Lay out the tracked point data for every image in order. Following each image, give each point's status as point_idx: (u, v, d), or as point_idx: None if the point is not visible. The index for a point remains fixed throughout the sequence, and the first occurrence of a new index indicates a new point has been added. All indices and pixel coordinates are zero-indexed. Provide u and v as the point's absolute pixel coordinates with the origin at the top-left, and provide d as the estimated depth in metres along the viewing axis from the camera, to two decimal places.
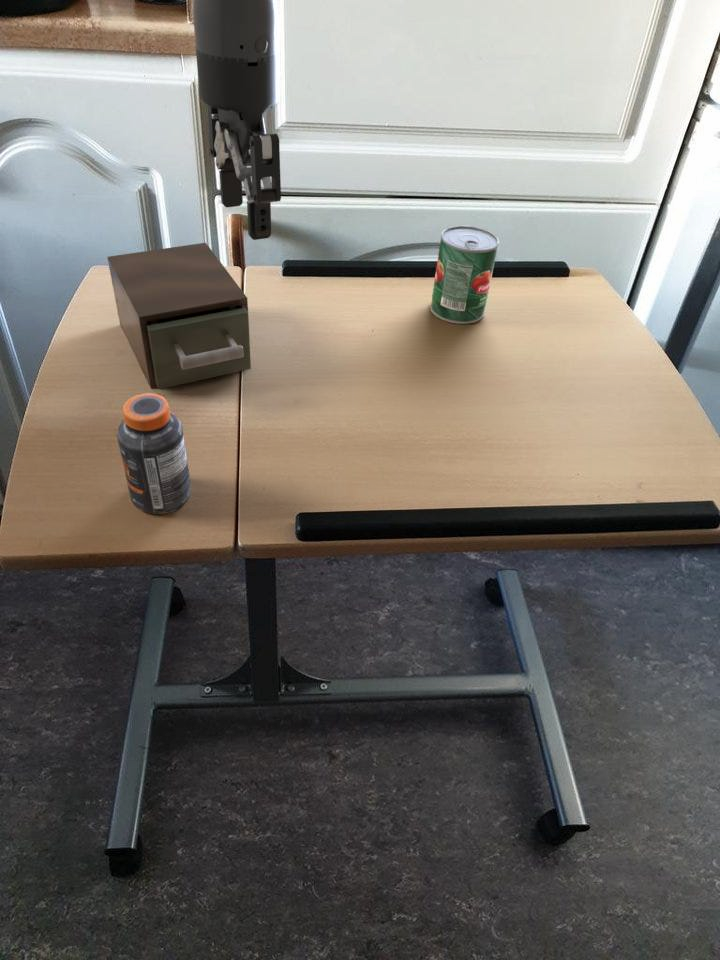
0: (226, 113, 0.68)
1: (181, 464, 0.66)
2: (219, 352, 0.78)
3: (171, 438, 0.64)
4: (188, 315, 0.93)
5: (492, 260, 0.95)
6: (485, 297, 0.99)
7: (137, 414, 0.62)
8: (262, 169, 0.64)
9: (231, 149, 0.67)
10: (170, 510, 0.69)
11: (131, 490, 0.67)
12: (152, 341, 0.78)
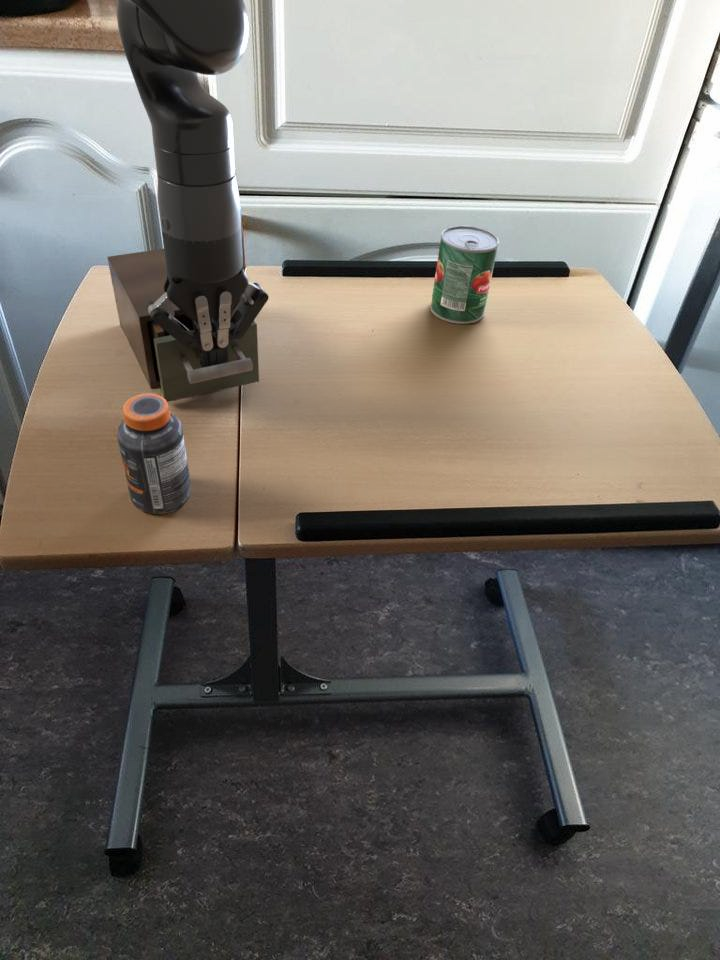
0: None
1: (181, 464, 0.66)
2: (227, 365, 0.76)
3: (171, 438, 0.64)
4: None
5: (492, 260, 0.95)
6: (485, 297, 0.99)
7: (137, 414, 0.62)
8: None
9: None
10: (170, 510, 0.69)
11: (131, 490, 0.67)
12: (159, 354, 0.76)
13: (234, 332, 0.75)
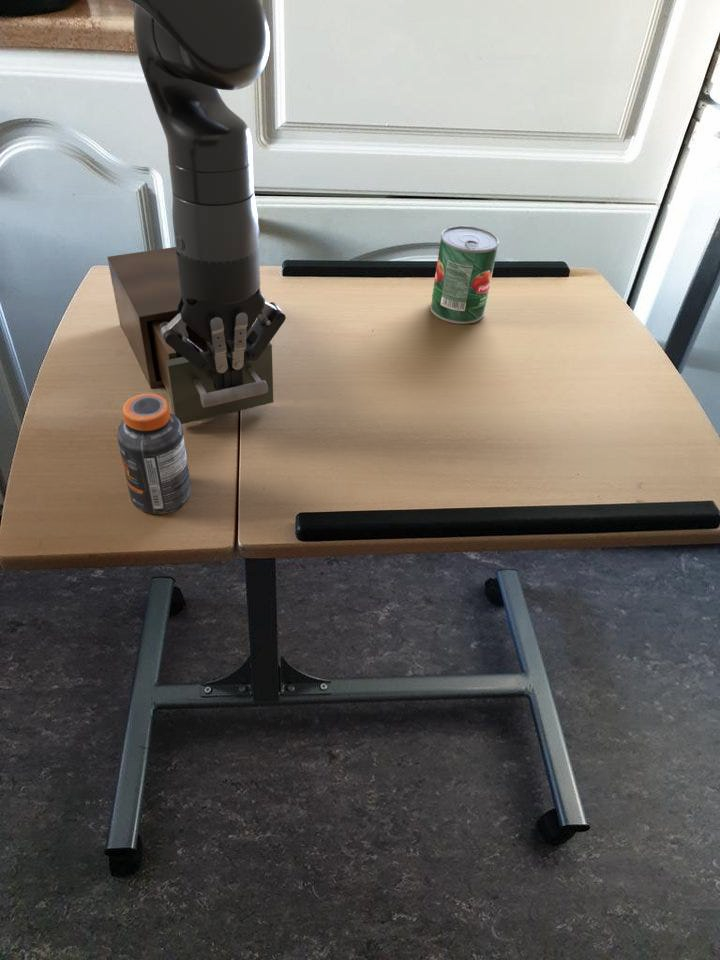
0: None
1: (181, 464, 0.66)
2: (242, 388, 0.73)
3: (171, 438, 0.64)
4: None
5: (492, 260, 0.95)
6: (485, 297, 0.99)
7: (137, 414, 0.62)
8: None
9: None
10: (170, 510, 0.69)
11: (131, 490, 0.67)
12: (171, 377, 0.73)
13: (250, 353, 0.72)
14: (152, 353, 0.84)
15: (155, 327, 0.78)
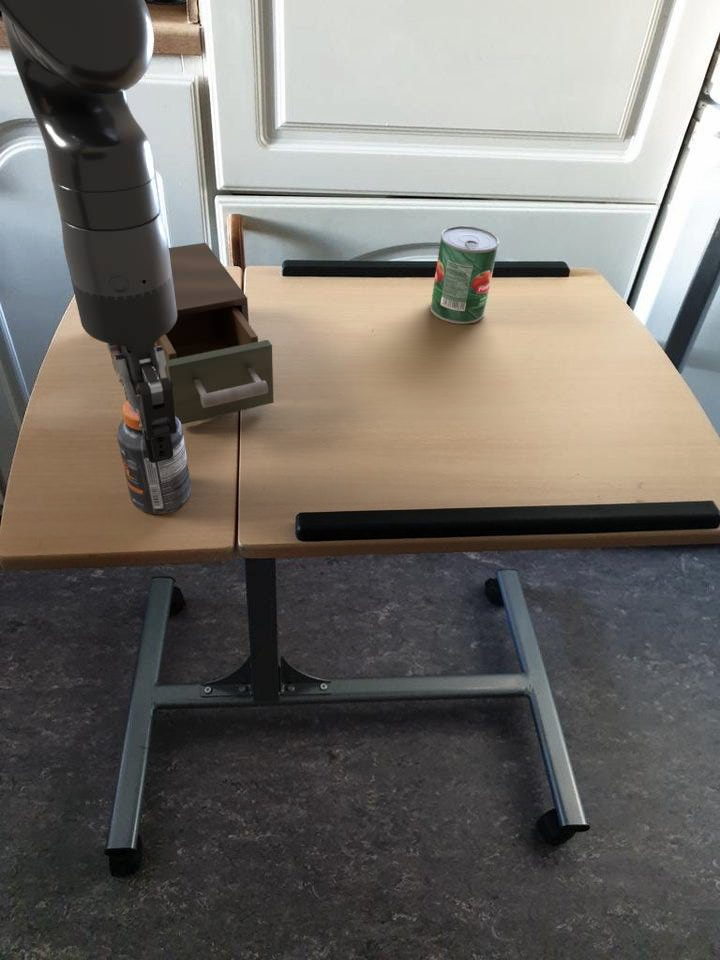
0: None
1: (181, 463, 0.66)
2: (242, 389, 0.73)
3: (171, 438, 0.64)
4: (206, 344, 0.88)
5: (492, 260, 0.95)
6: (485, 297, 0.99)
7: (137, 414, 0.62)
8: None
9: None
10: (170, 510, 0.69)
11: (131, 490, 0.67)
12: (171, 377, 0.73)
13: (144, 426, 0.58)
14: None
15: None
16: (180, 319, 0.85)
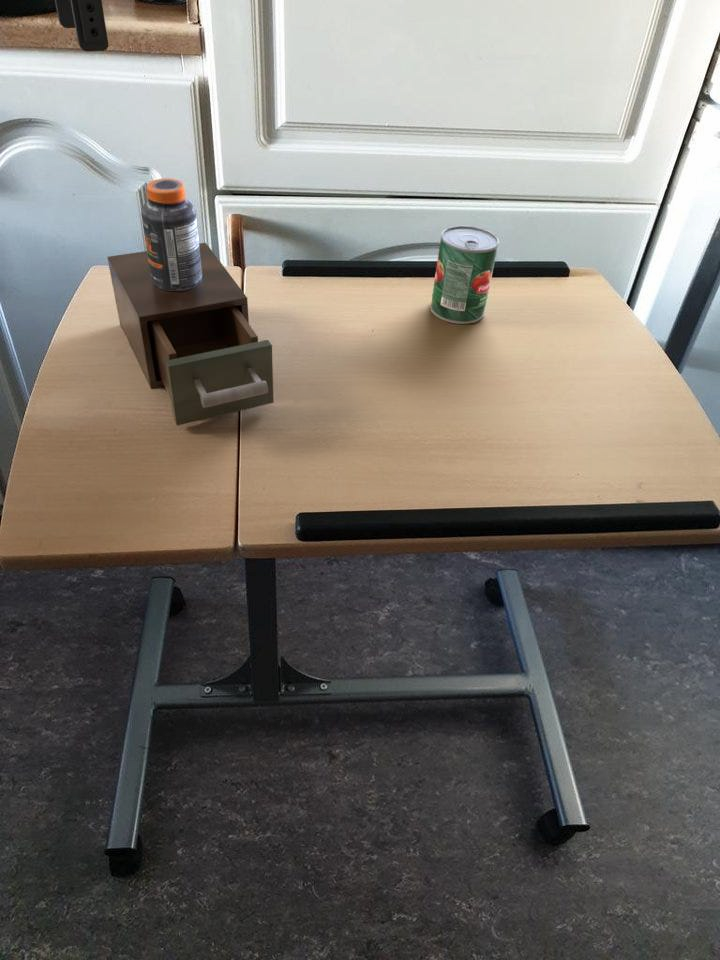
0: None
1: (194, 242, 0.79)
2: (242, 389, 0.73)
3: (186, 213, 0.77)
4: (206, 344, 0.88)
5: (492, 260, 0.95)
6: (485, 297, 0.99)
7: (158, 189, 0.75)
8: None
9: None
10: (185, 287, 0.82)
11: (152, 267, 0.80)
12: (171, 377, 0.73)
13: None
14: (152, 353, 0.84)
15: (155, 327, 0.78)
16: (180, 319, 0.85)
